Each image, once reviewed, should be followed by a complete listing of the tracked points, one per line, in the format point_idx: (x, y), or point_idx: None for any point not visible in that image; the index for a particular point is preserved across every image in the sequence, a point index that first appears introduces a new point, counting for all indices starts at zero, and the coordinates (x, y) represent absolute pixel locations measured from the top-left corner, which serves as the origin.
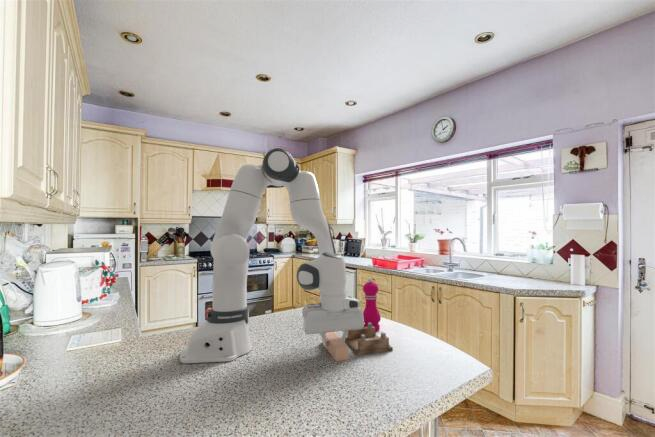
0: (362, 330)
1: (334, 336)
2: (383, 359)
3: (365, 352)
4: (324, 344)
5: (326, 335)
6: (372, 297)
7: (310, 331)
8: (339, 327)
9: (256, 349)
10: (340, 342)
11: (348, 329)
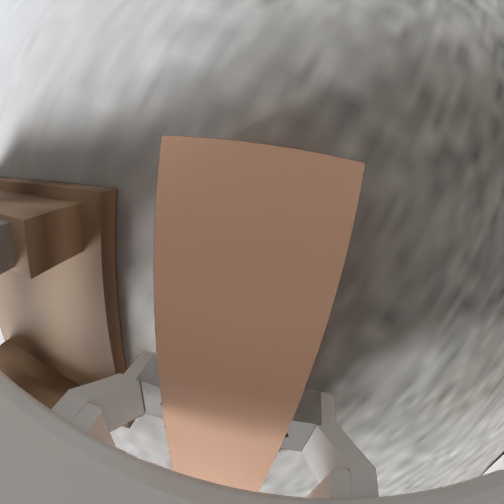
0: (25, 387)
1: (199, 447)
2: (41, 80)
3: (65, 184)
4: (331, 406)
5: (254, 478)
6: None
7: (500, 492)
8: (116, 494)
9: (500, 448)
10: (198, 319)
11: (34, 405)
